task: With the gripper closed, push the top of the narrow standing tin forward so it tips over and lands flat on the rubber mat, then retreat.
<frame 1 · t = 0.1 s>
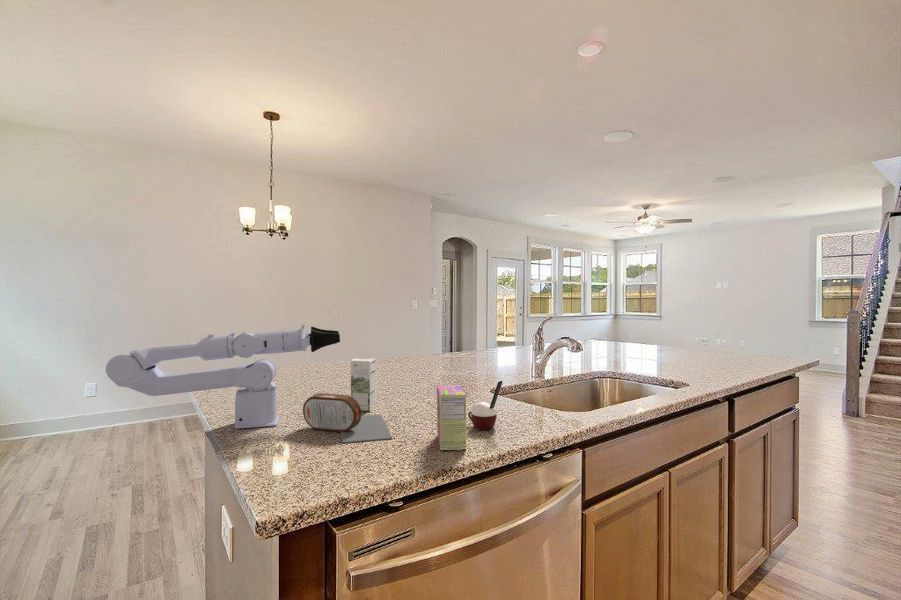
hand: (339, 336, 114), 22 cm above the worktop, tool horizontal, fingers open, 7 cm apart
syrup box: (363, 409, 123), on the worktop
box: (450, 443, 95), on the worktop
tin: (331, 430, 104), on the worktop, touching mat
mat: (363, 428, 106), on the worktop
cocoa: (484, 429, 106), on the worktop
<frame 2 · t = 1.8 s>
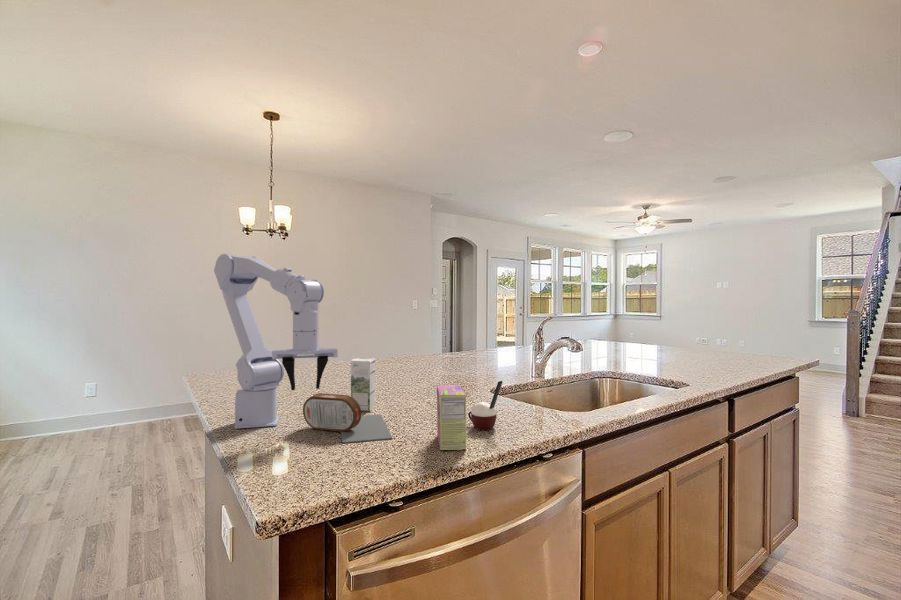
hand: (305, 388, 102), 10 cm above the worktop, tool pointing down, fingers open, 5 cm apart
nothing on the worktop moved.
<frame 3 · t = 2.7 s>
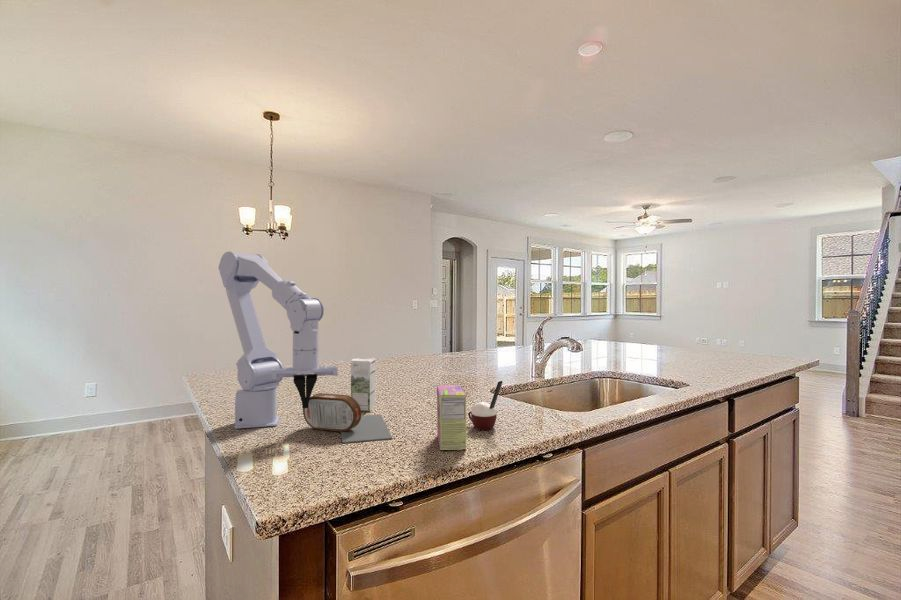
hand: (305, 407, 102), 6 cm above the worktop, tool pointing down, fingers closed
tin: (331, 430, 104), on the worktop, touching gripper, mat
everything else where it was.
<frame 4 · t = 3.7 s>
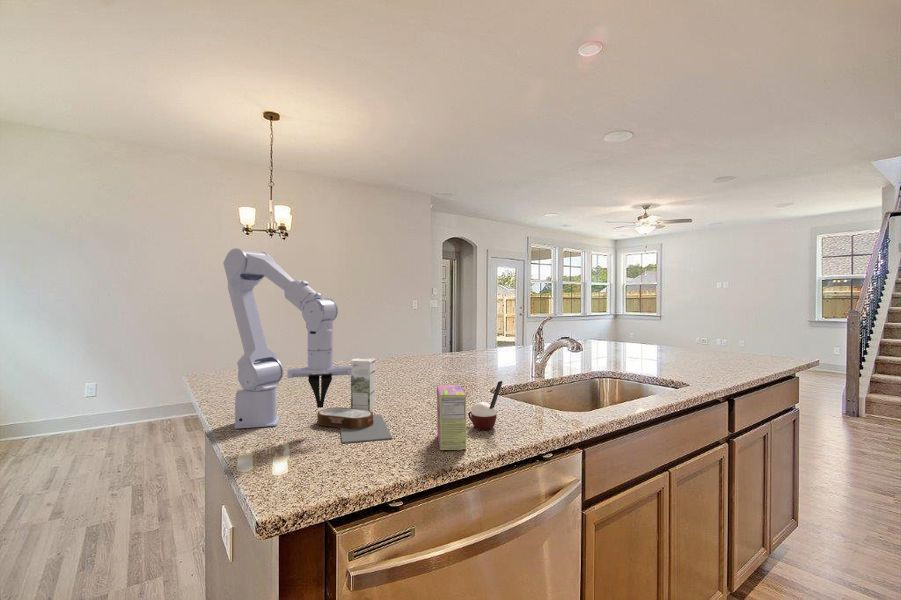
hand: (320, 406, 103), 6 cm above the worktop, tool pointing down, fingers closed
tin: (335, 420, 105), point 2 cm above the worktop, touching mat
everything else where it was.
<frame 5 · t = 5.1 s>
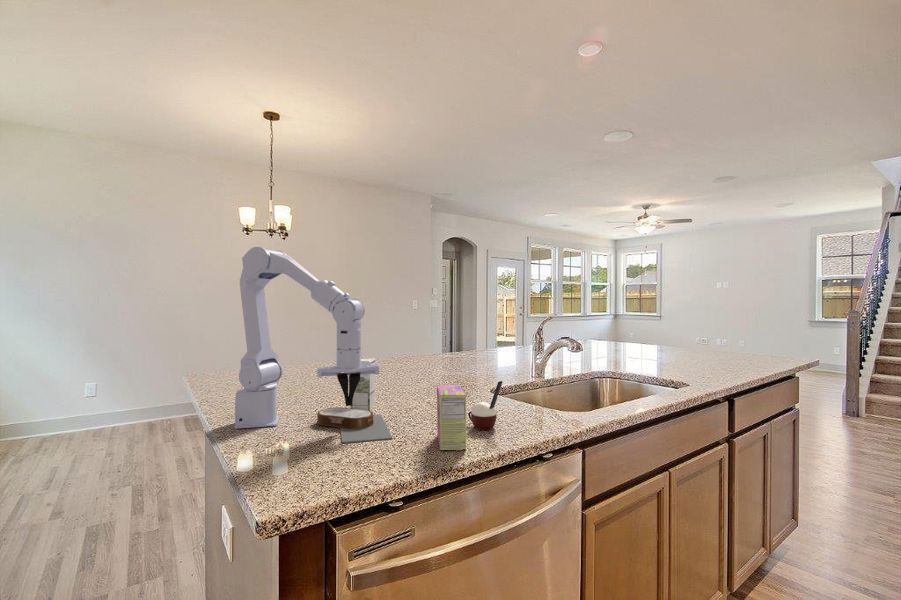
hand: (348, 404, 105), 6 cm above the worktop, tool pointing down, fingers closed
nothing on the worktop moved.
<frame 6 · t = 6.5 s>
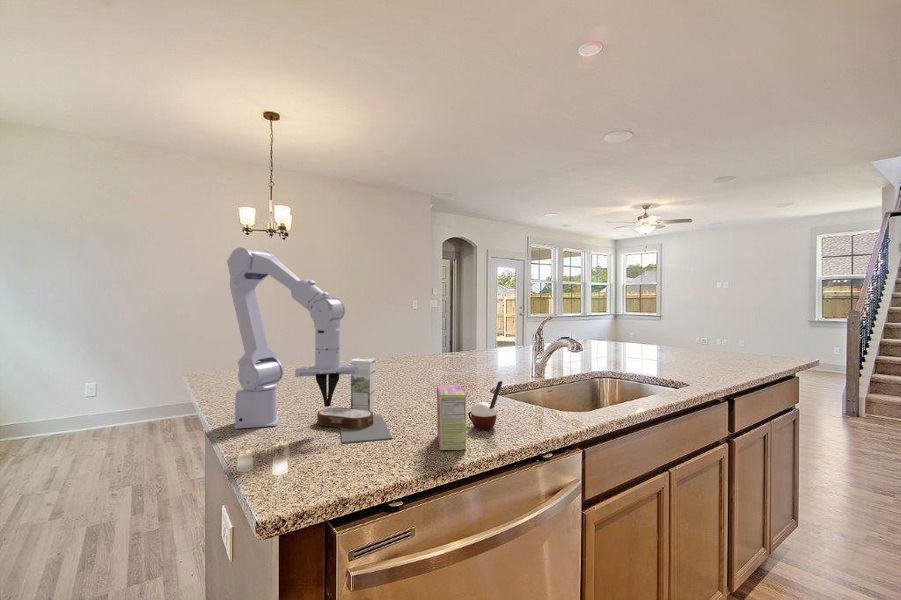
hand: (327, 405, 103), 6 cm above the worktop, tool pointing down, fingers closed
nothing on the worktop moved.
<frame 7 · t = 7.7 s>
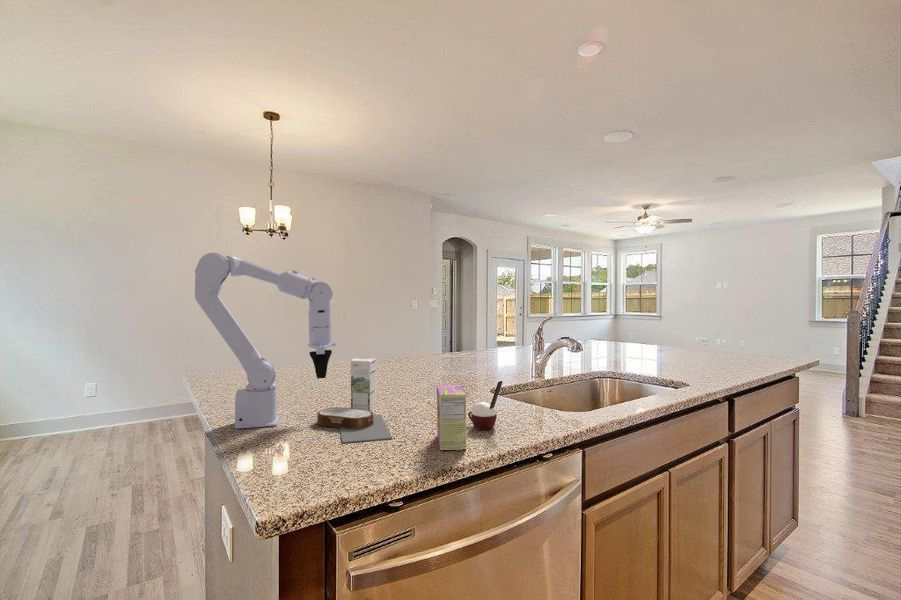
hand: (321, 377, 115), 10 cm above the worktop, tool pointing down, fingers closed
nothing on the worktop moved.
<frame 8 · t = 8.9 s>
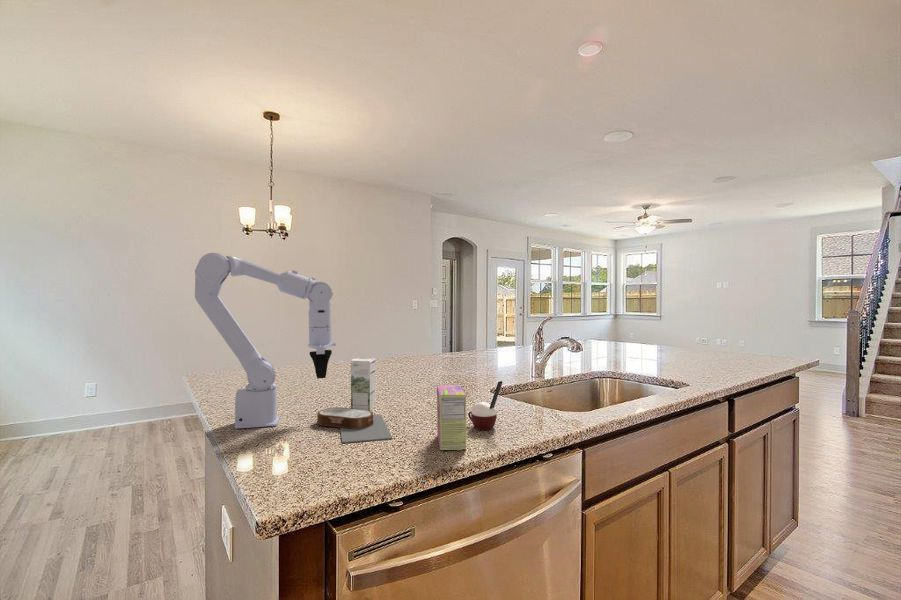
hand: (321, 377, 115), 10 cm above the worktop, tool pointing down, fingers closed
nothing on the worktop moved.
at the end: tin tilted 94°; tin inside the target area (6.2 cm from its centre), point 1.9 cm above the worktop; the gripper is holding nothing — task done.
